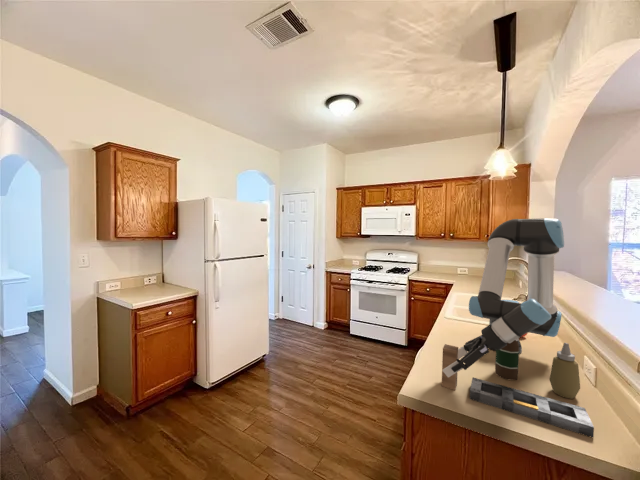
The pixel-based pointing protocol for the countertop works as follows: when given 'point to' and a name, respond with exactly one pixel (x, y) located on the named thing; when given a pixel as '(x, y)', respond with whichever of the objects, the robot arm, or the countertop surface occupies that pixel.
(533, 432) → the countertop surface
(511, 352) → the beer bottle
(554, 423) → the metal rail
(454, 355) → the walnut peg
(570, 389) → the squeeze bottle
